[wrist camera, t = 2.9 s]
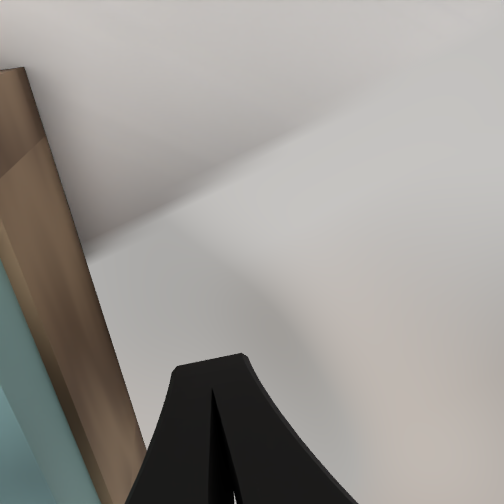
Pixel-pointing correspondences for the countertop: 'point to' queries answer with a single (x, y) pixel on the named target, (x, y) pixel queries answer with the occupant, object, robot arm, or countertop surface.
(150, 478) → the robot arm
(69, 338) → the walnut box
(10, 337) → the cover plate
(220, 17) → the countertop surface
